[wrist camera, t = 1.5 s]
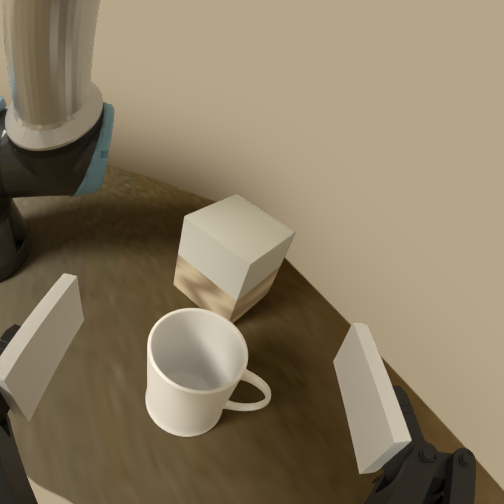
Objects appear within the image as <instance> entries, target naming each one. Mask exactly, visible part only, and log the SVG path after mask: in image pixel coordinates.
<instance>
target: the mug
mask: <svg viewBox="0 0 504 504" xmlns="http://www.w3.org/2000/svg"><path fill="white" fill-rule="evenodd" d="M247 362H248V349H247V345H246V342H245V340H244V338H243V336H242V334H241V333H240V331H239V330H238V329H237V327H236V326H235V325H234V324H233V323H231V322H230V321H229V320H228V319H226V318H225V317H223V316H221V315H219V314H217V313H215V312H212V311H209V310H205V309H199V308H185V309H179V310H176V311H173V312H170V313H168V314H167V315H165V316H163V317H162V318H161V319H160V320H159V321H158V322H157V323H156V324H155V325H154V327H153V328H152V330H151V332H150V335H149V338H148V346H147V387H148V388H147V391H146V407H147V410H148V412H149V414H150V416H151V418H152V419H153V421H154V422H155V423H156V424H157V425H158V426H159V427H161V428H162V429H163V430H165V431H167V432H169V433H171V434H174V435H177V436H183V437H192V436H197V435H201V434H203V433H205V432H207V431H209V430H210V429H212V428H213V427H214V426H215V425H216V423H217V422H218V421H219V419H220V417H221V414H222V410H223V409H230V410H237V411H254V410H258V409H261V408H263V407H265V406H266V405H267V404H268V403H269V401H270V399H271V390H270V388H269V386H268V385H267V383H266V382H265V381H264V380H263V379H261V378H260V377H259V376H257V375H256V374H254V373H252V372H250V371H249V370H247V369H246V366H247ZM239 380H243V381H246V382H249V383H251V384H253V385H254V386H256V387H257V388H259V389H260V390H261V391H262V392H263V393H264V395H265V399H264V400H262V401H260V402H257V403H236V402H232V401H229V400H228V399H229V398H230V396H231V394H232V393H233V391H234V389H235V387H236V386H237V384H238V382H239Z"/></svg>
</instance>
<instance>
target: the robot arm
mask: <svg viewBox="0 0 504 504" xmlns="http://www.w3.org/2000/svg"><path fill="white" fill-rule="evenodd" d="M99 3H100V0H2V5H3V6H2V9H3V30H4V43H5V52H6V62H7V69H8V76H9V82H10V88H11V93H12V98H13V101H12V103H11V105H10V106H9V108H8V109H6V108H5V106H6V102H5V100H4V98H3V97H1V96H0V281H2V280H4V279H5V278H7V277H9V276H10V275H11V274H13V273H14V272H15V271H16V270H17V269H18V268H19V267H20V266H21V265H22V264H23V262H24V261H25V259H26V258H27V256H28V254H29V251H30V246H31V239H30V234H29V229H28V226H27V224H26V222H25V220H24V218H23V217H22V215H21V213H20V211H19V210H18V208H17V206H16V204H15V202H14V201H13V198H18V197H37V196H71V197H75V196H77V195H82V194H92V193H95V192H96V191H98V190H99V189H100V187H101V185H102V183H103V180H104V176H105V171H106V166H107V159H108V152H109V147H110V141H111V136H112V129H113V122H114V107H113V106H112V105H111V104H107V103H105V102H103V100H102V94H101V92H100V90H99V88H98V87H97V86H96V85H95V84H94V83H93V82H91V67H92V56H93V46H94V36H95V28H96V22H97V15H98V9H99ZM83 321H84V319H83V313H82V307H81V301H80V294H79V287H78V279H77V276H74V275H69V274H65V273H64V274H63V275H62V276H61V277H60V278H59V280H58V281H57V282H56V283H55V284H54V286H53V287H52V288H51V289H50V290H49V292H48V293H47V294H46V295H45V297H44V298H43V299H42V300H41V302H40V303H39V304H38V305H37V307H36V308H35V309H34V310H33V312H32V313H31V314H30V316H29V317H28V318H27V320H26V321H25V322H24V324H23V325H22V326H19V325H16V324H15V325H13V326H12V327H10V328H9V329H7V330H6V331H5V333H4V334H3V335H2V337H1V338H0V504H38V503H37V501H36V498H35V496H34V493H33V491H32V488H31V486H30V483H29V481H28V478H27V475H26V473H25V470H24V467H23V464H22V461H21V458H20V455H19V452H18V449H17V445H16V442H15V438H14V435H13V431H12V427H11V423H10V419H9V417H8V415H7V413H8V411H9V409H11V411H12V412H13V414H14V415H15V416H16V417H18V418H20V419H22V420H25V421H27V422H30V420H31V418H32V416H33V414H34V412H35V409H36V407H37V405H38V403H39V401H40V399H41V397H42V395H43V393H44V391H45V389H46V387H47V385H48V383H49V381H50V380H51V378H52V376H53V374H54V372H55V370H56V368H57V366H58V365H59V363H60V361H61V359H62V357H63V356H64V354H65V352H66V350H67V348H68V347H69V345H70V343H71V341H72V340H73V338H74V336H75V335H76V333H77V331H78V329H79V328H80V326H81V324H82V323H83ZM333 363H334V366H335V370H336V374H337V378H338V382H339V386H340V390H341V394H342V398H343V403H344V407H345V411H346V415H347V419H348V424H349V428H350V433H351V437H352V441H353V446H354V451H355V455H356V460H357V465H358V470H359V474H365V473H373V472H376V471H377V470H379V469H380V468H381V467H382V466H383V469H384V473H383V474H381V475H380V476H379V477H377V478H376V479H375V480H374V481H373V482H372V483H373V484H374V483H376V482H377V481H378V482H377V483H376V485H375V487H374V489H373V490H372V492H371V494H370V495H369V497H368V498H367V500H366V502H365V503H364V504H474V497H475V479H476V460H475V456H474V455H473V453H472V452H471V451H470V450H469V449H466V448H460V449H458V450H456V451H455V452H454V453H453V454H450V453H442V452H438V451H437V449H436V448H435V447H434V446H433V445H432V444H430V443H427V442H425V440H424V438H423V435H422V433H421V430H420V427H419V424H418V422H417V419H416V416H415V414H413V412H414V411H413V409H412V406H410V405H411V404H410V401H409V398H408V396H407V394H406V393H405V392H404V391H403V389H402V388H401V387H400V386H392V385H391V382H390V379H389V377H388V374H387V372H386V369H385V367H384V364H383V362H382V359H381V357H380V354H379V352H378V349H377V347H376V345H375V342H374V340H373V337H372V335H371V333H370V330H369V328H368V326H367V324H365V323H355V322H353V323H352V325H351V327H350V329H349V331H348V333H347V335H346V337H345V339H344V341H343V343H342V345H341V347H340V349H339V351H338V353H337V355H336V357H335V359H334V361H333Z"/></svg>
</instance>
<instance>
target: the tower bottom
mask: <svg viewBox="0 0 504 504" xmlns="http://www.w3.org/2000/svg"><path fill="white" fill-rule="evenodd" d="M279 268H280V266H279V267H278V268H277V269H276V270H274V271H273V272H272V273H271V274H270V275H268V276H267V277H266V278H265V279H263V280H262V281H261V282H260V283H258V284H257V285H256V286H255V287H254V288H252V289H251V290H250V291H249V292H247V293H246V294H245V295H244V296H242V297H241V298H240V299H239V300H237V301H236V300H235V299H233V298H232V297H231V296H229V295H228V294H227V293H226V292H224V291H223V290H222V289H221V288H219V287H218V286H217V285H216V284H214V283H213V282H212V281H211V280H209V279H208V278H207V277H206V276H204V275H203V274H202V273H201V272H200V271H198V270H197V269H196V268H195V267H193V266H192V265H191V264H190V263H189V262H187V261H186V260H185V259H184V258H183V257H181V256H180V255H179V254H178V258H177V264H176V271H175V278H174V285H175V286H176V287H177V288H178V289H179V290H181V291H182V292H183V293H184V294H185V295H186V296H187V297H189V298H190V299H191V300H192V301H193V302H194V303H195V304H197V305H198V306H199V307H200V308H201V309H205V310H209V311H212V312H215V313H217V314H219V315H221V316H223V317H225V318H226V319H228V320H229V321H230V322H231V323H234V322H235V321H236V320H237V319H239V318H240V317H241V316H242V315H243V314H244V313H246V312H247V311H248V310H249V309H250V308H251V307H253V306H254V305H255V304H256V303H257V302H258V301H259V300H261V299H262V298H263V297H264V296H265V295H266V294H267V293H268V292H269V290H270V287H271V285H272V283H273V281H274V279H275V277H276V274H277V272H278V270H279Z"/></svg>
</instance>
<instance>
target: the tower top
mask: <svg viewBox="0 0 504 504" xmlns="http://www.w3.org/2000/svg"><path fill="white" fill-rule="evenodd" d="M294 235H295V231H293V230H292V229H290V228H289V227H287V226H286V225H284V224H283V223H281V222H279V221H278V220H277V219H275V218H274V217H272V216H271V215H269V214H267V213H266V212H264V211H263V210H261V209H260V208H258V207H257V206H255V205H253V204H252V203H250V202H248V201H247V200H246V199H244V198H242V197H241V196H239V195H238V194H236V195H233V196H231V197H229V198H226V199H224V200H221V201H219V202H216V203H214V204H212V205H209V206H207V207H204V208H202V209H200V210H197V211H195V212H193V213H191V214H188V215H186V216H185V217H184V222H183V228H182V234H181V240H180V246H179V252H178V254H179V255H180V256H181V257H183V258H184V259H185V260H186V261H187V262H189V263H190V264H191V265H192V266H193V267H195V268H196V269H197V270H198V271H200V272H201V273H202V274H203V275H204V276H206V277H207V278H208V279H209V280H211V281H212V282H213V283H214V284H216V285H217V286H218V287H219V288H221V289H222V290H223V291H224V292H226V293H227V294H228V295H229V296H231V297H232V298H233V299H235V300H236V301H237V300H239V299H240V298H241V297H242V296H244V295H245V294H246V293H247V292H249V291H250V290H251V289H252V288H254V287H255V286H256V285H257V284H258V283H260V282H261V281H262V280H263V279H265V278H266V277H267V276H268V275H270V274H271V273H272V272H273V271H274V270H276V269H277V268H278V267H279V266H281V264H282V261H283V259H284V257H285V255H286V252H287V250H288V248H289V246H290V243H291V241H292V239H293V237H294Z"/></svg>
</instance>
